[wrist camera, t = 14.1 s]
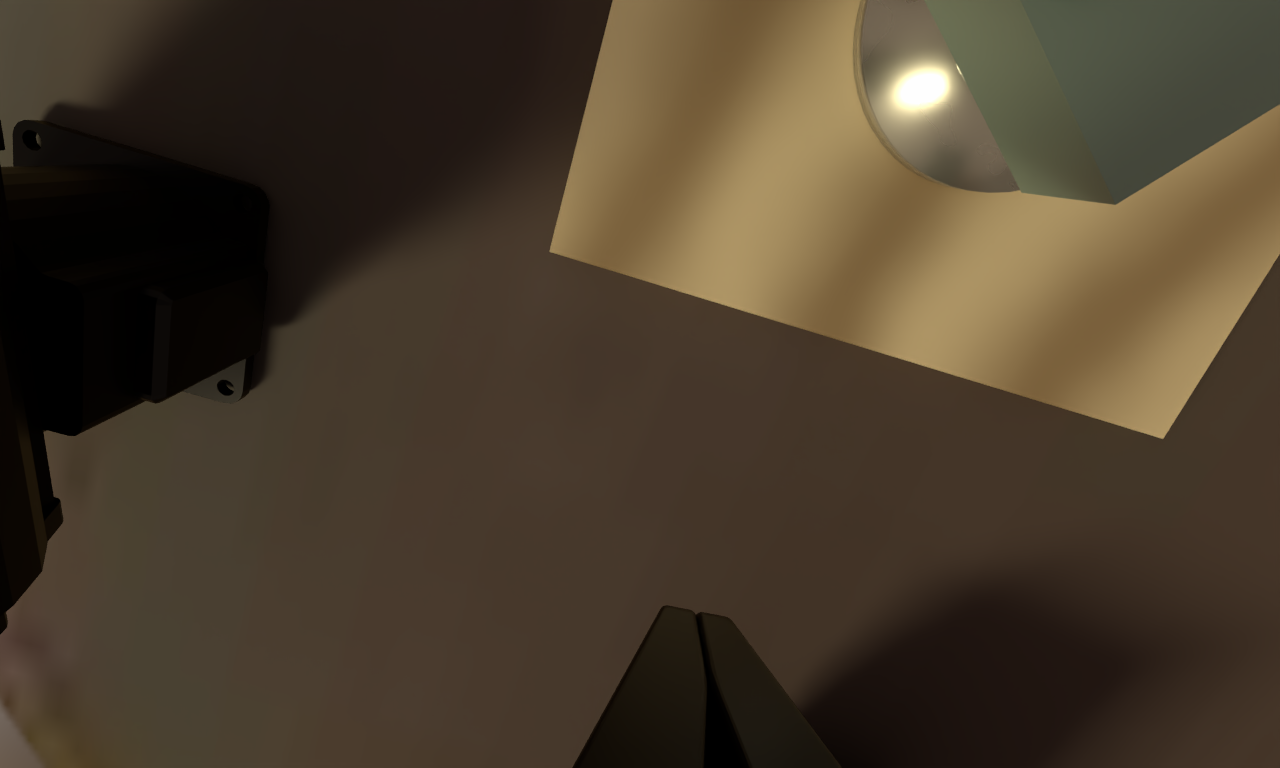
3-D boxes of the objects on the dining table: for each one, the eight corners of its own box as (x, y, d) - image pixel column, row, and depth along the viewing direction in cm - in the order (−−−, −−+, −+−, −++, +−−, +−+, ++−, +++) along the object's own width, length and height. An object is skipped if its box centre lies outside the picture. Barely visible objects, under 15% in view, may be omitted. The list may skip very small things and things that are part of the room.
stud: (808, 142, 16) (838, 141, 14) (930, -194, 14) (997, -278, 11) (1065, 226, 17) (1146, 242, 14) (1224, -85, 15) (1359, -140, 12)
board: (554, 246, 18) (549, 251, 18) (753, -533, 13) (759, -585, 12) (1139, 424, 20) (1163, 438, 19) (1533, -220, 14) (1593, -245, 14)
